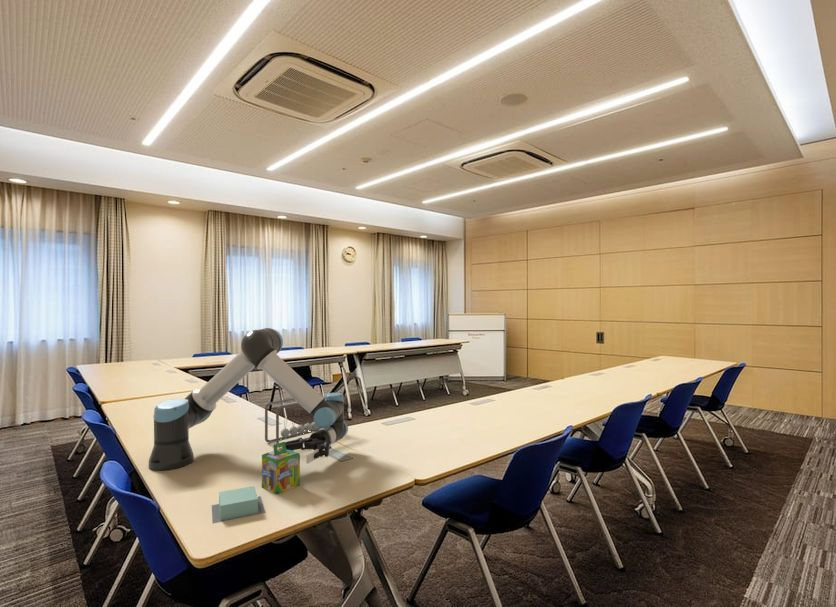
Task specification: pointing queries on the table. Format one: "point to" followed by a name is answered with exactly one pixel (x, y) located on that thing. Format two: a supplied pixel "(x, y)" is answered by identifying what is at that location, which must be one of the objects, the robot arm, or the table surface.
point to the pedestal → (238, 502)
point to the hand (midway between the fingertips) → (290, 457)
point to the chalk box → (280, 469)
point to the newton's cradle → (292, 430)
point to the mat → (217, 517)
